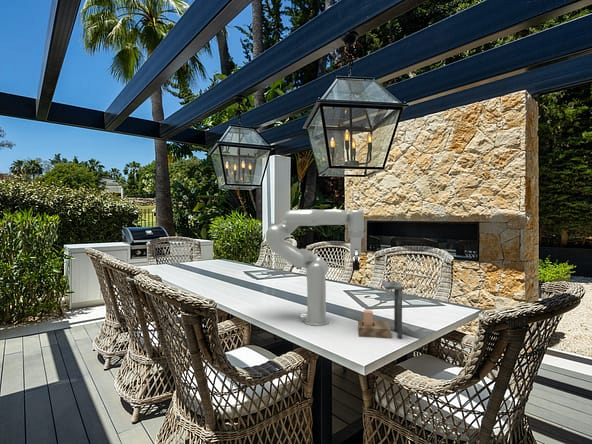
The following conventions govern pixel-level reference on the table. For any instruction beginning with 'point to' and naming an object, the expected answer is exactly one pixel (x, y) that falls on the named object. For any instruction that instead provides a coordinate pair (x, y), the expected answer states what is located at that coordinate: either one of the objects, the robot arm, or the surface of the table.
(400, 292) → the socket block
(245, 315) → the table surface
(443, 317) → the table surface
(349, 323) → the table surface
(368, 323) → the peg
